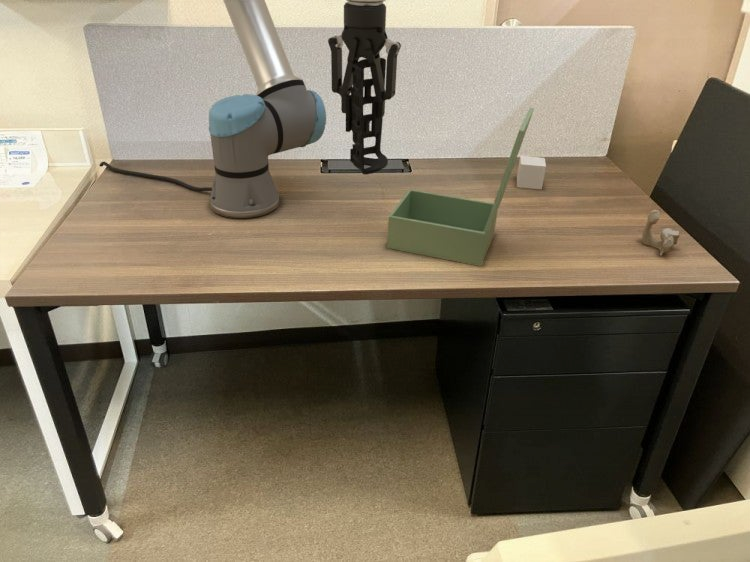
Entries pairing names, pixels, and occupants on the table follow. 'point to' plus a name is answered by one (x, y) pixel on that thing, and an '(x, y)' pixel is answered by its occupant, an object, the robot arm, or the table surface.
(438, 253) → the box
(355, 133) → the holder
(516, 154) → the lid
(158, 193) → the table surface
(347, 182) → the table surface
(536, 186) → the white cube
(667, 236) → the beige irregular piece
